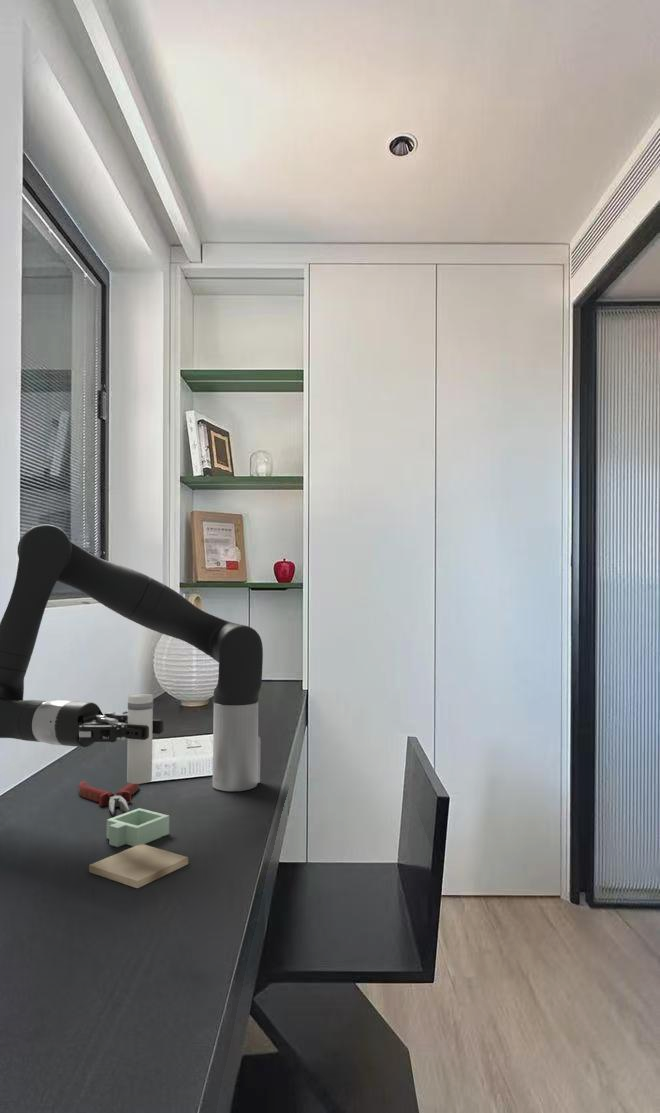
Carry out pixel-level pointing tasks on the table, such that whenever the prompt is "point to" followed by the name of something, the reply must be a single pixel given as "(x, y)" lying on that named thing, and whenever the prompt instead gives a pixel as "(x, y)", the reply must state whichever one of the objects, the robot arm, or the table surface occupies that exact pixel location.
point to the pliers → (109, 796)
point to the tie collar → (136, 827)
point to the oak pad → (138, 865)
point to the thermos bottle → (136, 748)
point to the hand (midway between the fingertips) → (154, 729)
